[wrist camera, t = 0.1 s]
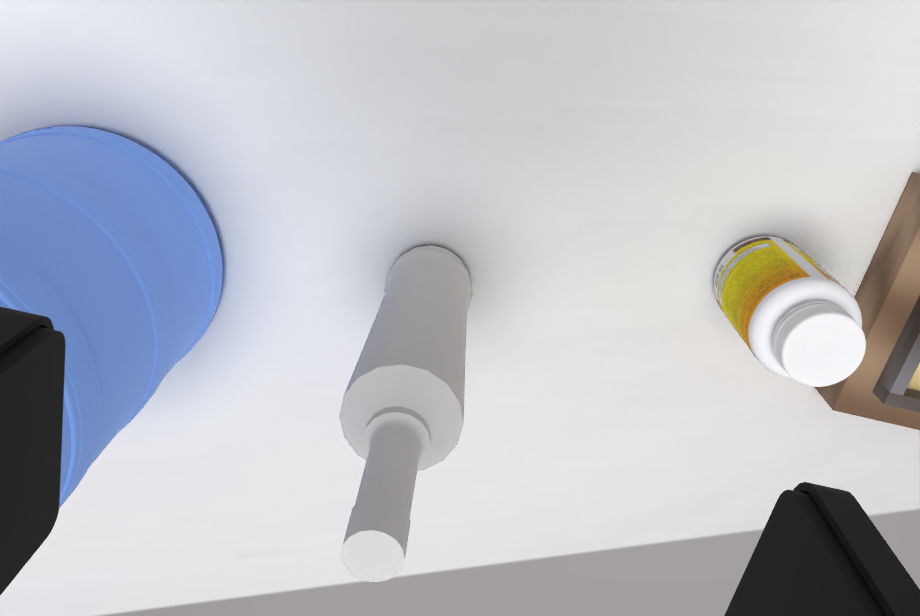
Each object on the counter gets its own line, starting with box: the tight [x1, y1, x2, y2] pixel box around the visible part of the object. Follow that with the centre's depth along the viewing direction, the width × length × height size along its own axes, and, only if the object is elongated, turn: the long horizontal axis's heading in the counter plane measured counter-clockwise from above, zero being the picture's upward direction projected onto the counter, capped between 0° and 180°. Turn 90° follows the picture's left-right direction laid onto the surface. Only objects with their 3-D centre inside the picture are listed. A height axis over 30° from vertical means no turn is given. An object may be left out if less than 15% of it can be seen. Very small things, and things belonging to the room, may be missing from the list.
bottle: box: [339, 245, 472, 582], centre depth 37 cm, size 5×5×25 cm
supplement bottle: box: [714, 236, 866, 387], centre depth 43 cm, size 6×6×10 cm
